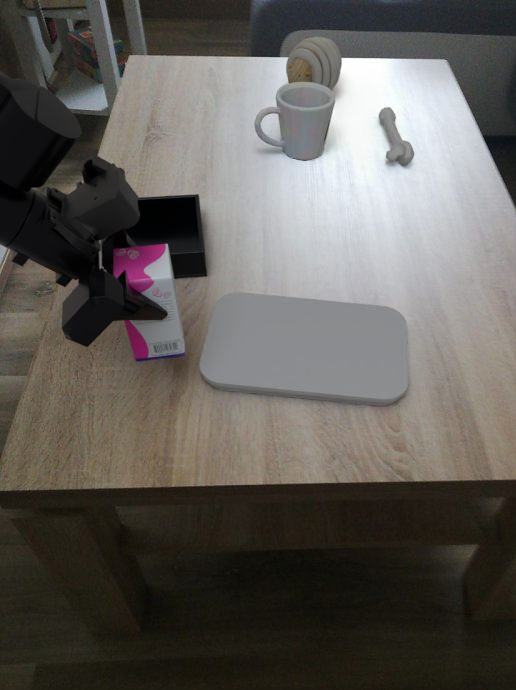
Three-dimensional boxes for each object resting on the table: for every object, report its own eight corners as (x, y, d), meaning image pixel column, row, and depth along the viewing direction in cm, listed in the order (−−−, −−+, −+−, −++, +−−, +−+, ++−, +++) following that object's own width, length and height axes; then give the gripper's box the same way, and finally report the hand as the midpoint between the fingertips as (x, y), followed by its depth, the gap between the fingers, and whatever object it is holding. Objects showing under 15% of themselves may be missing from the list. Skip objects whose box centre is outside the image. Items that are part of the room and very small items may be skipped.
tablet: (405, 412, 69) (408, 401, 67) (196, 392, 69) (194, 380, 68) (403, 319, 79) (406, 308, 77) (219, 302, 79) (218, 290, 77)
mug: (340, 158, 104) (346, 103, 96) (266, 174, 99) (265, 117, 91) (316, 131, 109) (319, 77, 101) (244, 145, 105) (242, 90, 97)
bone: (413, 170, 102) (417, 151, 99) (384, 169, 102) (388, 149, 99) (402, 121, 113) (405, 102, 110) (376, 120, 113) (379, 101, 110)
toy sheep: (271, 105, 115) (271, 45, 106) (311, 75, 124) (314, 18, 115) (315, 120, 112) (319, 60, 103) (353, 88, 121) (360, 30, 112)
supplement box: (182, 320, 67) (169, 241, 58) (186, 356, 64) (173, 279, 55) (132, 325, 66) (111, 246, 57) (134, 363, 63) (112, 285, 54)
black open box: (108, 283, 81) (100, 258, 77) (111, 224, 89) (104, 199, 85) (207, 276, 82) (204, 251, 79) (201, 218, 91) (198, 193, 87)
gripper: (65, 219, 40) (225, 312, 51) (69, 97, 51) (201, 195, 62) (-9, 311, 45) (151, 378, 56) (9, 183, 56) (140, 260, 67)
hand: (163, 297), depth 60 cm, fingers closed on supplement box, 6 cm apart
